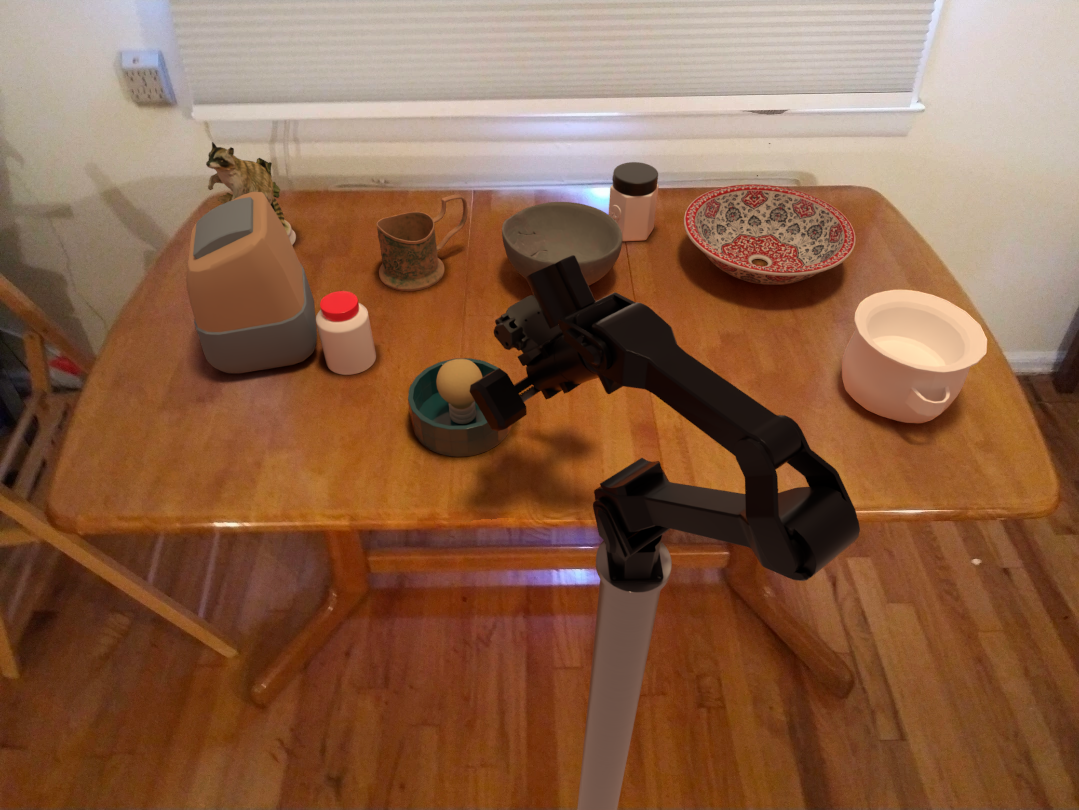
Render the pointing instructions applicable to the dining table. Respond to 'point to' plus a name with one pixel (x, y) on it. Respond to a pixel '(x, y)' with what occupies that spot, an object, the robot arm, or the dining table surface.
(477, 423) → the round teal dish
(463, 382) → the light bulb
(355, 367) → the pill bottle
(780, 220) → the ceramic bowl
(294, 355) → the trash can
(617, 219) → the jar
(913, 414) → the pot
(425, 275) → the mug
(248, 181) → the figurine
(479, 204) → the dining table surface
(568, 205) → the bowl
